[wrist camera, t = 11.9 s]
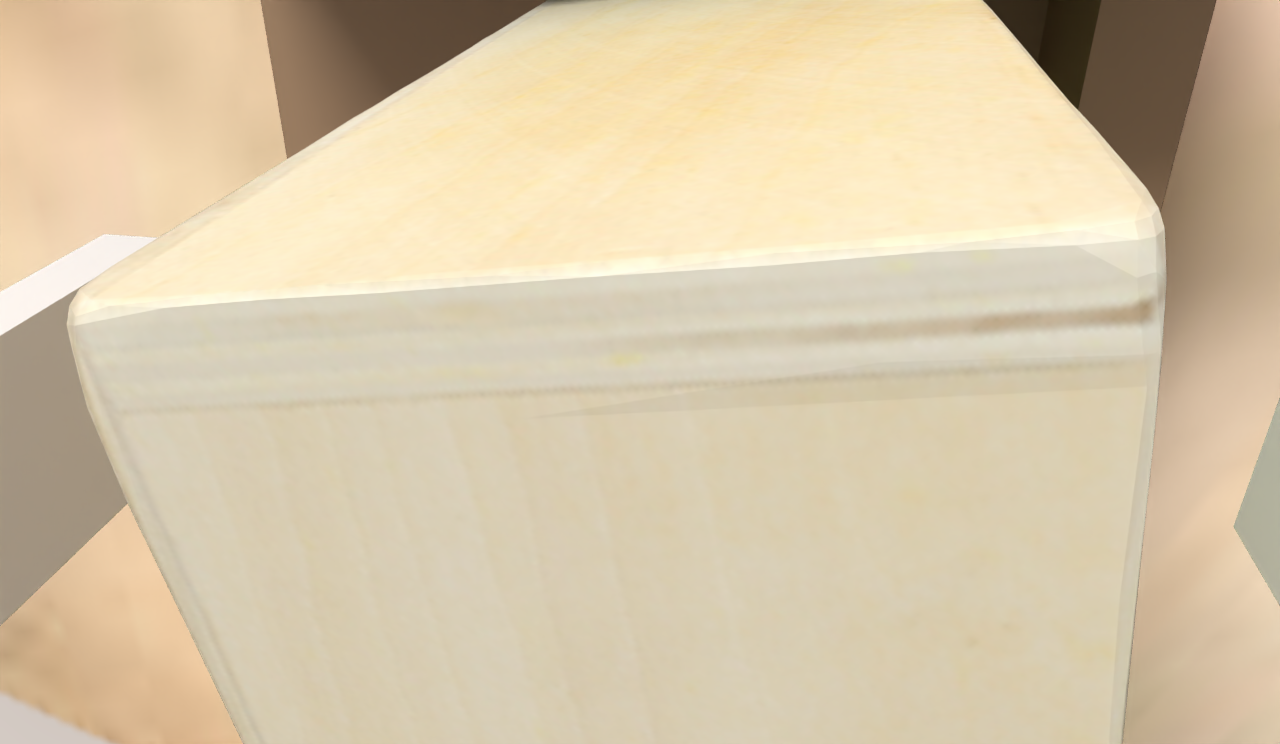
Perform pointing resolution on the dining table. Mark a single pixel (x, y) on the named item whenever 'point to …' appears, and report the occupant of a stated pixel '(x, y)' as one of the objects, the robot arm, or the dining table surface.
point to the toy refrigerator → (659, 393)
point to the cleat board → (484, 3)
